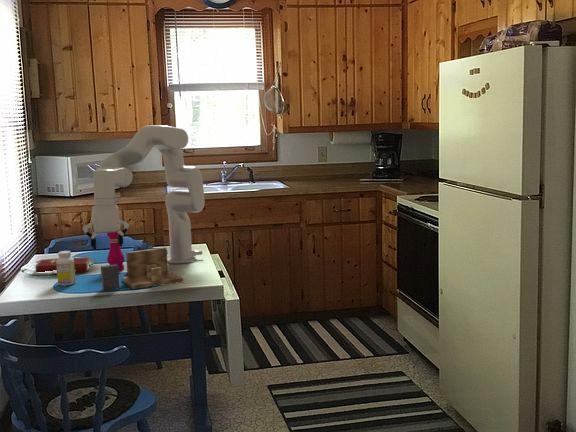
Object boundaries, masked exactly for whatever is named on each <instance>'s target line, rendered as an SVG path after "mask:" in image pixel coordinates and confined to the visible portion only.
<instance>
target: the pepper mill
mask: <svg viewBox="0 0 576 432" xmlns="http://www.w3.org/2000/svg"><path fill="white" fill-rule="evenodd" d="M121 229H122V228H121ZM121 229H120V230H121ZM121 231H122V230H121ZM118 235H119V234H118V233H117V232H109V233H106V236H107V237H108V242H109V251H108V254H107V258H106V260H107V261H106V262H107V263H108V265H114V264H117V265H118V271H119V272H120V271H124V269H125V265H124V264H123V263H125V260H126V259H125V256H124V255H125V254H124V253H123V251H122V247H120V246H118Z"/></svg>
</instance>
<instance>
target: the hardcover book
mask: <svg viewBox="0 0 576 432" xmlns="http://www.w3.org/2000/svg"><path fill="white" fill-rule="evenodd" d="M72 258H73V259H74V267H75V270H76V271H75V273H81V272H88V270H89V269H90V267H89V263H90V264H91V259H92V257H91V256H89V257H86V256H85V257H72ZM57 259H58V258H49V259H48V258H47V259H40V260H39V261H38V263H37V264H36V265H35V273H36V272H45V271H53V270H57V265H56V261H57Z"/></svg>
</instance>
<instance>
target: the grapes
mask: <svg viewBox="0 0 576 432" xmlns="http://www.w3.org/2000/svg"><path fill="white" fill-rule="evenodd" d="M148 249H154V247H153V246H152V245H148V244H147V243H146V242H143V243H141V244H140V245H139V244H135V245H134V246H133V248H132V250H130V252H132V251H140V250H148Z"/></svg>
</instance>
